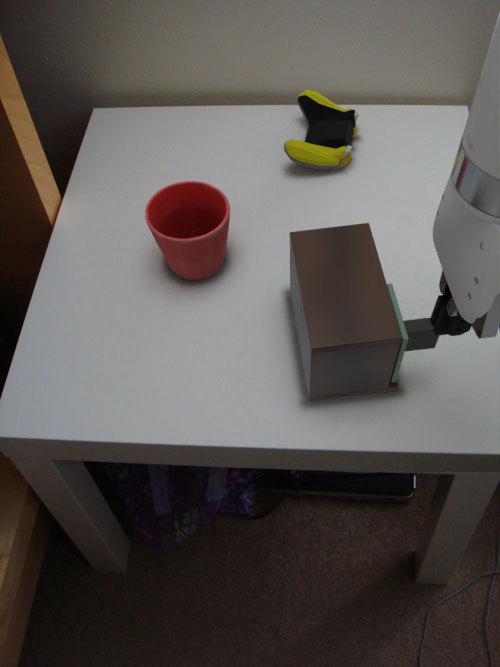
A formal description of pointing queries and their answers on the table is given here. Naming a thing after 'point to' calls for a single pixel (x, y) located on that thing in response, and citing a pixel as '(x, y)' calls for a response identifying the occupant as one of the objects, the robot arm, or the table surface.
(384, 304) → the cupboard
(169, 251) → the flower pot
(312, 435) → the table surface
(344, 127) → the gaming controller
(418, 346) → the sliding door
